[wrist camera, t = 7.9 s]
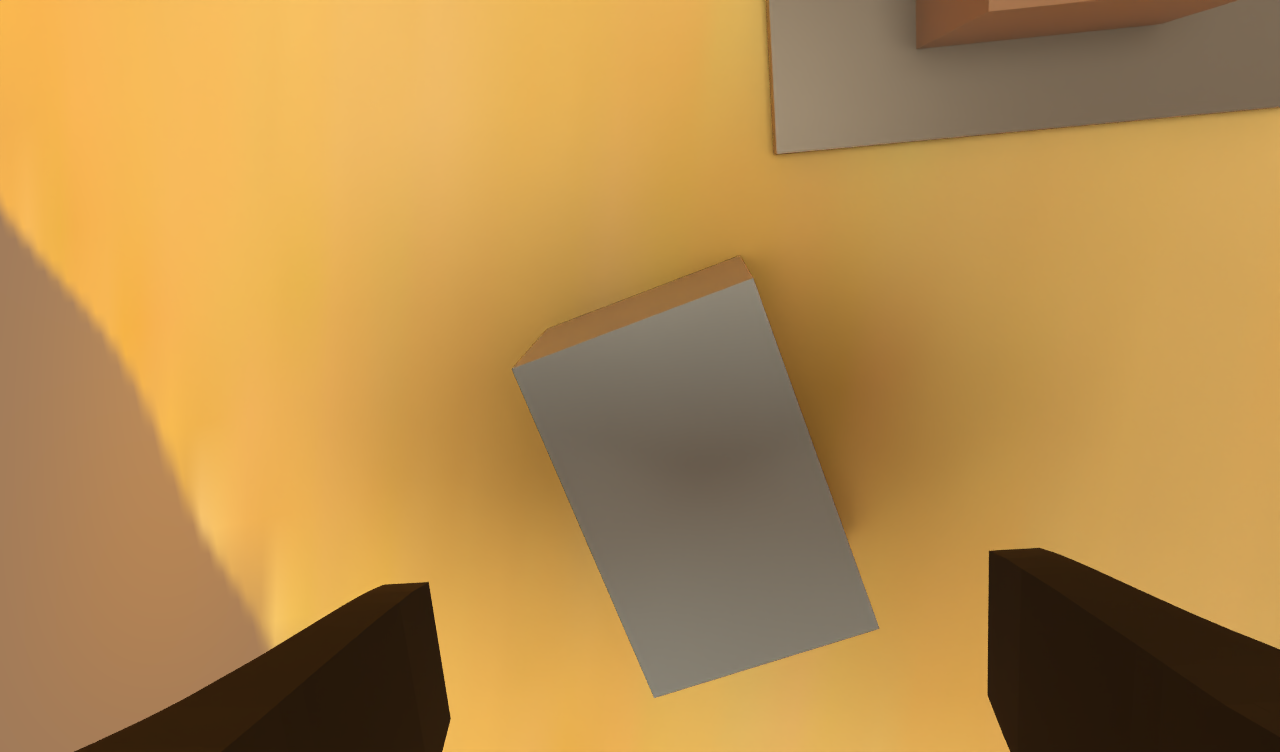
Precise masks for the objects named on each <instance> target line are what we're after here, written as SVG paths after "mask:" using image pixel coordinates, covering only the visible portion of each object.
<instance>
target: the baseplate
mask: <svg viewBox="0 0 1280 752" xmlns="http://www.w3.org/2000/svg"><path fill="white" fill-rule="evenodd" d="M766 13H767V32H768V52H769V71H770V91H771V110H772V130H773V149H774V154H784V153H795V152H805V151H816V150H827V149H838V148H848V147H859V146H870V145H880V144H891V143H902V142H912V141H923V140H934V139H944V138H955V137H966V136H976V135H987V134H998V133H1008V132H1019V131H1030V130H1040V129H1051V128H1062V127H1073V126H1083V125H1094V124H1105V123H1115V122H1126V121H1137V120H1147V119H1158V118H1169V117H1179V116H1190V115H1201V114H1211V113H1222V112H1233V111H1243V110H1254V109H1265V108H1275V107H1280V0H1238V1H1235V2H1231V3H1228V4H1225V5H1221V6H1218V7H1215V8H1212V9H1208V10H1205V11H1202V12H1198V13H1195V14H1192V15H1189V16H1185V17H1182V18H1179V19H1175V20H1172V21H1169V22H1166V23H1162V24H1158V25H1148V26H1138V27H1129V28H1119V29H1109V30H1099V31H1089V32H1080V33H1070V34H1060V35H1050V36H1040V37H1031V38H1021V39H1011V40H1001V41H992V42H982V43H972V44H962V45H952V46H943V47H933V48H923V49H916V0H766Z"/></svg>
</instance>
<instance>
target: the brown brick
mask: <svg viewBox="0 0 1280 752" xmlns="http://www.w3.org/2000/svg"><path fill="white" fill-rule="evenodd" d="M1235 1H1238V0H916V49H923V48H933V47H943V46H952V45H962V44H972V43H982V42H992V41H1001V40H1011V39H1021V38H1031V37H1040V36H1050V35H1060V34H1070V33H1080V32H1089V31H1099V30H1109V29H1119V28H1129V27H1138V26H1148V25H1158V24H1162V23H1166V22H1169V21H1172V20H1175V19H1179V18H1182V17H1185V16H1189V15H1192V14H1195V13H1198V12H1202V11H1205V10H1208V9H1212V8H1215V7H1218V6H1221V5H1225V4H1228V3H1231V2H1235Z"/></svg>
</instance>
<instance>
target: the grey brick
mask: <svg viewBox="0 0 1280 752" xmlns="http://www.w3.org/2000/svg"><path fill="white" fill-rule="evenodd" d="M512 371H513V373H514V376H515V378H516V380H517V382H518V385H519V387H520V389H521V392H522V394H523V396H524V399H525V401H526V403H527V406H528V408H529V410H530V412H531V415H532V417H533V419H534V422H535V424H536V426H537V429H538V431H539V433H540V436H541V438H542V440H543V442H544V445H545V447H546V449H547V452H548V454H549V456H550V459H551V461H552V463H553V466H554V468H555V470H556V472H557V475H558V477H559V479H560V482H561V484H562V486H563V489H564V491H565V493H566V496H567V498H568V500H569V502H570V505H571V507H572V509H573V512H574V514H575V516H576V519H577V521H578V523H579V526H580V528H581V530H582V532H583V535H584V537H585V539H586V542H587V544H588V546H589V549H590V551H591V553H592V556H593V558H594V560H595V562H596V565H597V567H598V569H599V572H600V574H601V576H602V579H603V581H604V583H605V586H606V588H607V590H608V592H609V595H610V597H611V599H612V602H613V604H614V606H615V609H616V611H617V613H618V616H619V618H620V620H621V622H622V625H623V627H624V629H625V632H626V634H627V636H628V639H629V641H630V643H631V646H632V648H633V650H634V652H635V655H636V657H637V659H638V662H639V664H640V666H641V669H642V671H643V673H644V676H645V678H646V680H647V682H648V685H649V687H650V689H651V692H652V694H653V696H654V698H656V697H659V696H662V695H666V694H669V693H672V692H675V691H679V690H682V689H685V688H688V687H692V686H695V685H698V684H701V683H705V682H708V681H711V680H714V679H718V678H721V677H724V676H727V675H731V674H734V673H737V672H740V671H744V670H747V669H750V668H753V667H757V666H760V665H763V664H766V663H770V662H773V661H776V660H779V659H783V658H786V657H789V656H792V655H796V654H799V653H802V652H805V651H809V650H812V649H815V648H818V647H822V646H825V645H828V644H831V643H834V642H838V641H841V640H844V639H847V638H851V637H854V636H857V635H860V634H864V633H867V632H870V631H873V630H877V629H879V626H878V623H877V620H876V618H875V615H874V612H873V609H872V607H871V604H870V601H869V598H868V595H867V593H866V590H865V587H864V584H863V582H862V579H861V576H860V573H859V570H858V568H857V565H856V562H855V559H854V557H853V554H852V551H851V548H850V545H849V543H848V540H847V537H846V534H845V532H844V529H843V526H842V523H841V520H840V518H839V515H838V512H837V509H836V507H835V504H834V501H833V498H832V496H831V493H830V490H829V487H828V484H827V482H826V479H825V476H824V473H823V471H822V468H821V465H820V462H819V459H818V457H817V454H816V451H815V448H814V446H813V443H812V440H811V437H810V434H809V432H808V429H807V426H806V423H805V421H804V418H803V415H802V412H801V410H800V407H799V404H798V401H797V398H796V396H795V393H794V390H793V387H792V385H791V382H790V379H789V376H788V373H787V371H786V368H785V365H784V362H783V360H782V357H781V354H780V351H779V348H778V346H777V343H776V340H775V337H774V335H773V332H772V329H771V326H770V323H769V321H768V318H767V315H766V312H765V310H764V307H763V304H762V301H761V299H760V296H759V293H758V290H757V287H756V285H755V282H754V279H753V277H752V275H751V273H750V272H749V270H748V268H747V267H746V265H745V263H744V261H743V260H742V258H741V256H740V255H739V256H737V257H734V258H732V259H729V260H726V261H724V262H721V263H718V264H716V265H713V266H711V267H708V268H705V269H703V270H700V271H698V272H695V273H692V274H690V275H687V276H684V277H682V278H679V279H677V280H674V281H671V282H669V283H666V284H663V285H661V286H658V287H656V288H653V289H650V290H648V291H645V292H642V293H640V294H637V295H635V296H632V297H629V298H627V299H624V300H622V301H619V302H616V303H614V304H611V305H608V306H606V307H603V308H601V309H598V310H595V311H593V312H590V313H587V314H585V315H582V316H580V317H577V318H574V319H572V320H569V321H566V322H564V323H561V324H559V325H556V326H553V327H551V328H548V329H547V330H546V331H545V332H544V333H543V334H542V335H541V336H540V338H539V339H538V340H537V341H536V342H535V343H534V344H533V345H532V347H531V348H530V349H529V350H528V351H527V352H526V353H525V354H524V356H523V357H522V358H521V359H520V360H519V361H518V362H517V363H516V365H515V366H514V367H513V368H512Z"/></svg>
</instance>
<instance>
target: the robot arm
mask: <svg viewBox="0 0 1280 752" xmlns="http://www.w3.org/2000/svg"><path fill="white" fill-rule="evenodd" d="M988 697H989V700H990V702H991V705H992V708H993V710H994V713H995V715H996V718H997V720H998V723H999V725H1000V728H1001V730H1002V733H1003V735H1004V738H1005V740H1006V742H1007V745H1008V747H1009V750H1010V752H1280V649H1277V648H1275V647H1272V646H1270V645H1267V644H1265V643H1262V642H1260V641H1257V640H1255V639H1252V638H1250V637H1247V636H1245V635H1242V634H1240V633H1237V632H1234V631H1232V630H1229V629H1227V628H1225V627H1222V626H1220V625H1218V624H1215V623H1213V622H1211V621H1208V620H1206V619H1203V618H1201V617H1199V616H1196V615H1194V614H1192V613H1190V612H1187V611H1185V610H1183V609H1181V608H1178V607H1176V606H1174V605H1172V604H1169V603H1167V602H1165V601H1163V600H1160V599H1158V598H1156V597H1154V596H1152V595H1149V594H1147V593H1145V592H1143V591H1141V590H1138V589H1136V588H1134V587H1132V586H1130V585H1127V584H1125V583H1123V582H1121V581H1119V580H1116V579H1114V578H1112V577H1110V576H1108V575H1106V574H1103V573H1101V572H1099V571H1097V570H1095V569H1092V568H1090V567H1088V566H1085V565H1083V564H1081V563H1079V562H1076V561H1074V560H1072V559H1069V558H1067V557H1064V556H1062V555H1059V554H1056V553H1054V552H1051V551H1048V550H1044V549H1041V548H1031V549H1013V550H995V551H989V609H988ZM450 719H451V718H450V712H449V706H448V699H447V693H446V687H445V681H444V675H443V669H442V662H441V656H440V650H439V644H438V638H437V631H436V625H435V619H434V613H433V607H432V600H431V594H430V588H429V582H423V583H406V584H388V585H382V586H380V587H377V588H375V589H373V590H371V591H369V592H367V593H365V594H363V595H361V596H359V597H357V598H355V599H354V600H352V601H350V602H348V603H347V604H345V605H343V606H342V607H340V608H338V609H337V610H335V611H333V612H332V613H330V614H328V615H327V616H325V617H323V618H322V619H320V620H318V621H317V622H315V623H314V624H312V625H310V626H309V627H307V628H305V629H304V630H302V631H300V632H299V633H297V634H295V635H294V636H292V637H291V638H289V639H287V640H286V641H284V642H282V643H281V644H279V645H277V646H276V647H274V648H273V649H271V650H269V651H268V652H266V653H264V654H263V655H261V656H259V657H258V658H256V659H254V660H252V661H250V662H249V663H247V664H245V665H243V666H242V667H240V668H238V669H236V670H235V671H233V672H231V673H229V674H227V675H226V676H224V677H222V678H220V679H219V680H217V681H215V682H214V683H212V684H210V685H208V686H206V687H205V688H203V689H201V690H199V691H198V692H196V693H194V694H192V695H190V696H189V697H187V698H185V699H183V700H181V701H179V702H177V703H175V704H173V705H172V706H170V707H168V708H166V709H164V710H162V711H160V712H158V713H156V714H154V715H152V716H150V717H148V718H146V719H144V720H142V721H140V722H138V723H136V724H133V725H132V726H129V727H127V728H125V729H123V730H121V731H118V732H116V733H114V734H112V735H110V736H108V737H106V738H103V739H102V740H99V741H97V742H95V743H93V744H90V745H88V746H86V747H84V748H81V749H79V750H77V751H75V752H442V750H443V746H444V742H445V738H446V735H447V731H448V727H449V723H450Z"/></svg>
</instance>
